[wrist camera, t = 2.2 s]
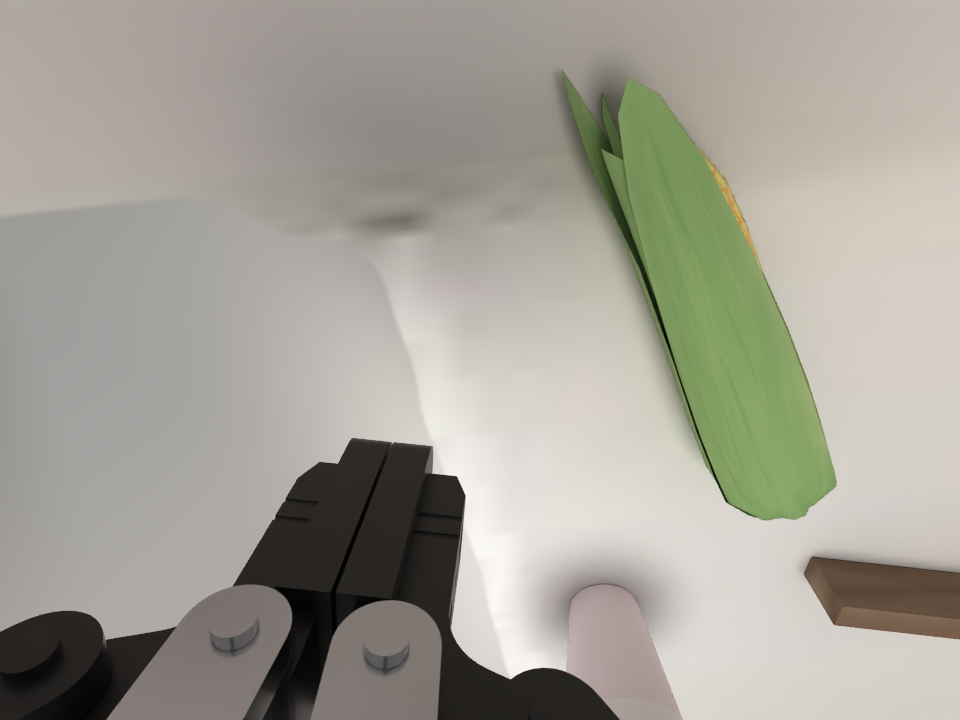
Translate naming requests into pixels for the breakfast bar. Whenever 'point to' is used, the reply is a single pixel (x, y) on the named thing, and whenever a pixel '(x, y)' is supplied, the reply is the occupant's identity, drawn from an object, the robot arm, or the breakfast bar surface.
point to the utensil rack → (887, 597)
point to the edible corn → (710, 308)
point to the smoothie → (618, 654)
